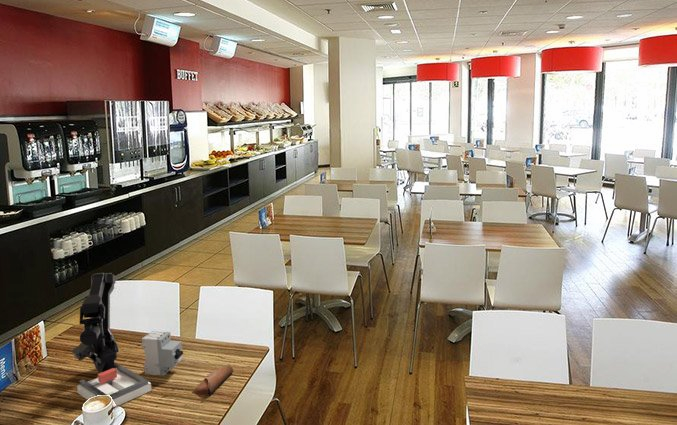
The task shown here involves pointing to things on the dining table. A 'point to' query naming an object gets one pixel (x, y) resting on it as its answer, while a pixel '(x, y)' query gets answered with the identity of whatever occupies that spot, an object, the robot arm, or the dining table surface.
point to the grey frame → (122, 392)
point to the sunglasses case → (213, 381)
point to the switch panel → (115, 388)
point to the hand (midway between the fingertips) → (99, 372)
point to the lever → (107, 376)
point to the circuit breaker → (160, 352)
